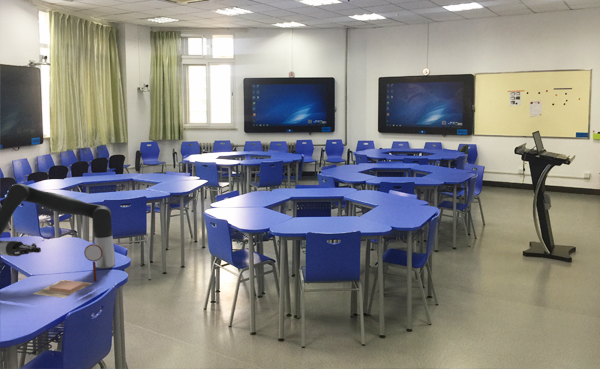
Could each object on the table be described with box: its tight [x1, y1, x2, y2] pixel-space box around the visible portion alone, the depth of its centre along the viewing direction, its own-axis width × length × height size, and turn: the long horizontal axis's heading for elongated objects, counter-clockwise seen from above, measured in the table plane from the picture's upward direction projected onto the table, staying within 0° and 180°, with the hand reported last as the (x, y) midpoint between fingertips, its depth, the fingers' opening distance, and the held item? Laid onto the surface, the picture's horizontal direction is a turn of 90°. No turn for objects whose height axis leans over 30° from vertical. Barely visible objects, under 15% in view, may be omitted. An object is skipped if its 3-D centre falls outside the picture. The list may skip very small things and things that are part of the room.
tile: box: [49, 279, 86, 295], centre depth 251 cm, size 10×2×12 cm
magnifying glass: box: [83, 243, 102, 282], centre depth 260 cm, size 9×2×20 cm, turn 95°
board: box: [32, 279, 94, 299], centre depth 252 cm, size 20×18×1 cm
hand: (39, 250), depth 255 cm, fingers closed
